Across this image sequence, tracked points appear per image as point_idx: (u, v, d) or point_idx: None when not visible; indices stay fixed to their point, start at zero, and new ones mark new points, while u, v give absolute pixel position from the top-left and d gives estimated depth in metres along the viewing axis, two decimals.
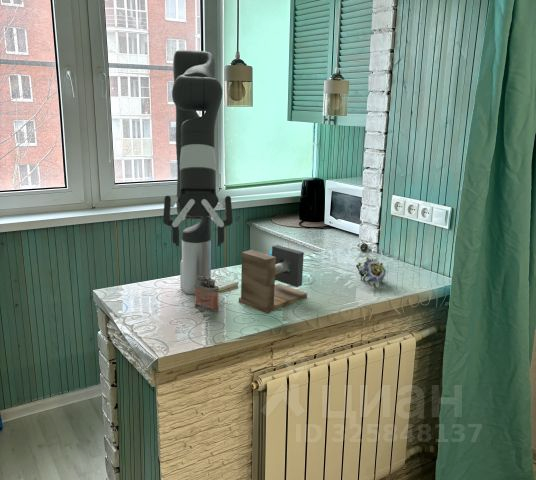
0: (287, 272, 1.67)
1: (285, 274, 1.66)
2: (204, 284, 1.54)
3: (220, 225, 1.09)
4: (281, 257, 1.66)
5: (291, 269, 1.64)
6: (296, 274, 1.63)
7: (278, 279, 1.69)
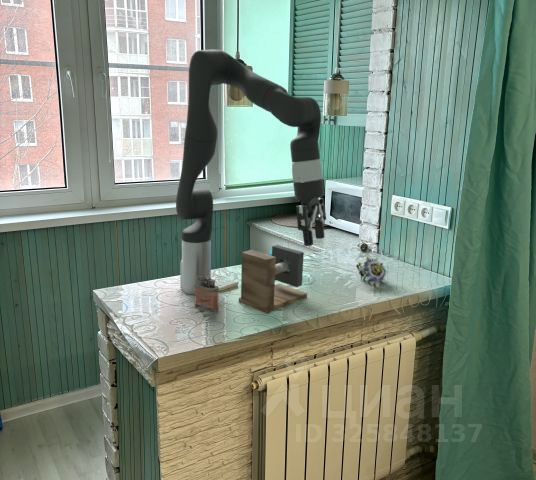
0: (287, 272, 1.67)
1: (285, 274, 1.66)
2: (204, 284, 1.54)
3: (323, 222, 1.37)
4: (281, 257, 1.66)
5: (291, 269, 1.64)
6: (296, 274, 1.63)
7: (278, 279, 1.69)
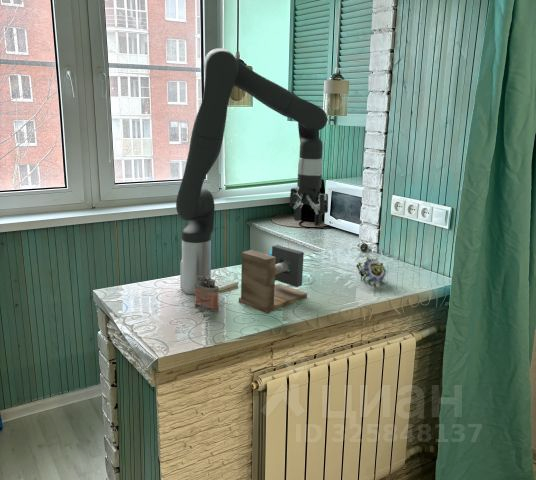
0: (287, 272, 1.67)
1: (285, 274, 1.66)
2: (204, 284, 1.54)
3: None
4: (281, 257, 1.66)
5: (291, 269, 1.64)
6: (296, 274, 1.63)
7: (278, 279, 1.69)
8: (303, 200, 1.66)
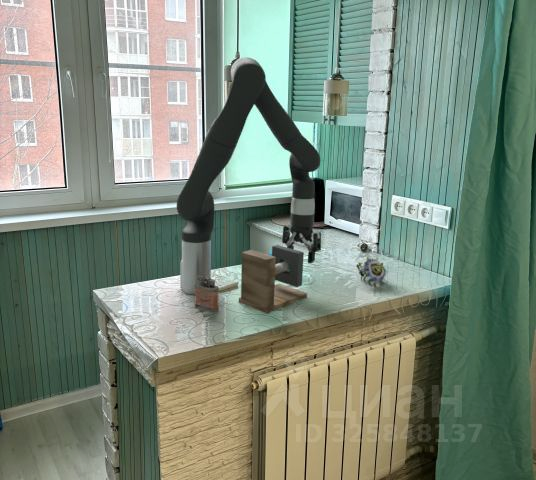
0: (287, 272, 1.67)
1: (285, 274, 1.66)
2: (204, 284, 1.54)
3: None
4: (281, 257, 1.66)
5: (291, 269, 1.64)
6: (296, 274, 1.63)
7: (278, 279, 1.69)
8: (296, 238, 1.69)
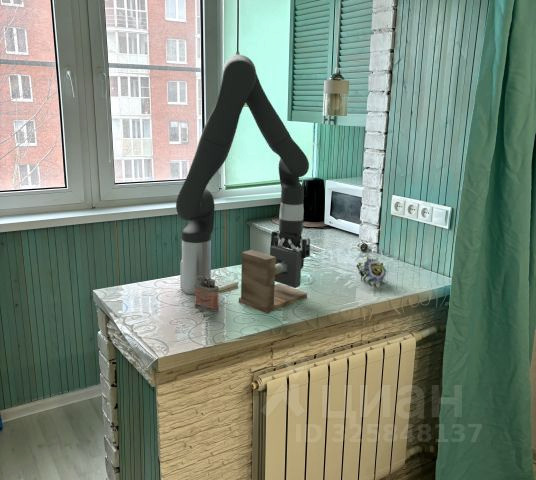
0: (285, 273, 1.67)
1: (283, 275, 1.66)
2: (204, 284, 1.54)
3: None
4: (279, 258, 1.66)
5: (289, 270, 1.64)
6: (294, 275, 1.63)
7: (276, 280, 1.68)
8: (285, 244, 1.66)
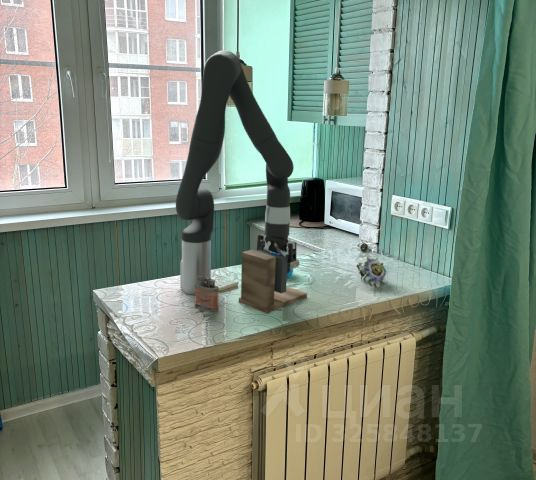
0: None
1: None
2: (204, 284, 1.54)
3: None
4: None
5: (275, 275, 1.59)
6: (280, 280, 1.58)
7: None
8: (271, 248, 1.61)
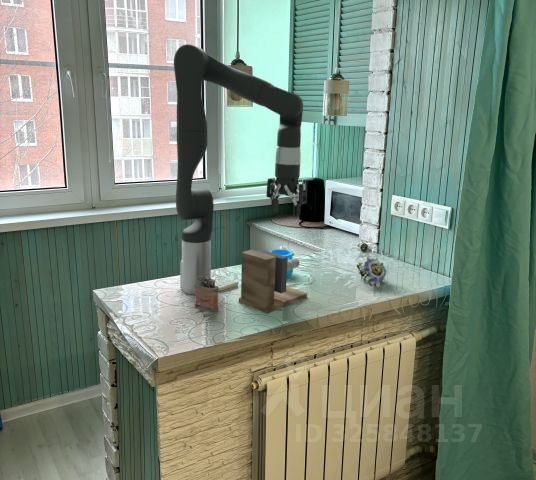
0: None
1: None
2: (204, 284, 1.54)
3: None
4: None
5: (275, 275, 1.59)
6: (280, 280, 1.58)
7: None
8: (281, 190, 1.60)
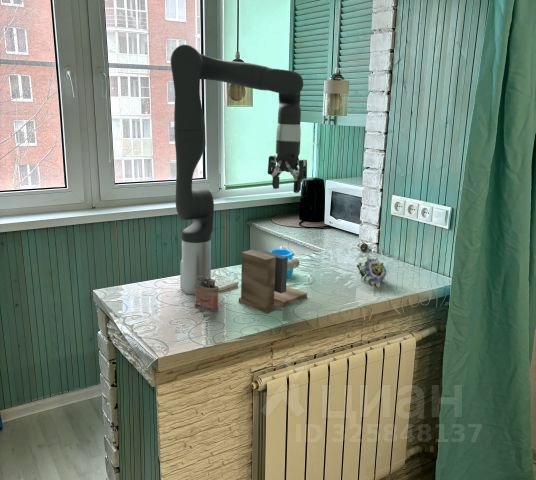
0: None
1: None
2: (204, 284, 1.54)
3: None
4: None
5: (275, 275, 1.59)
6: (280, 280, 1.58)
7: None
8: (282, 167, 1.65)
